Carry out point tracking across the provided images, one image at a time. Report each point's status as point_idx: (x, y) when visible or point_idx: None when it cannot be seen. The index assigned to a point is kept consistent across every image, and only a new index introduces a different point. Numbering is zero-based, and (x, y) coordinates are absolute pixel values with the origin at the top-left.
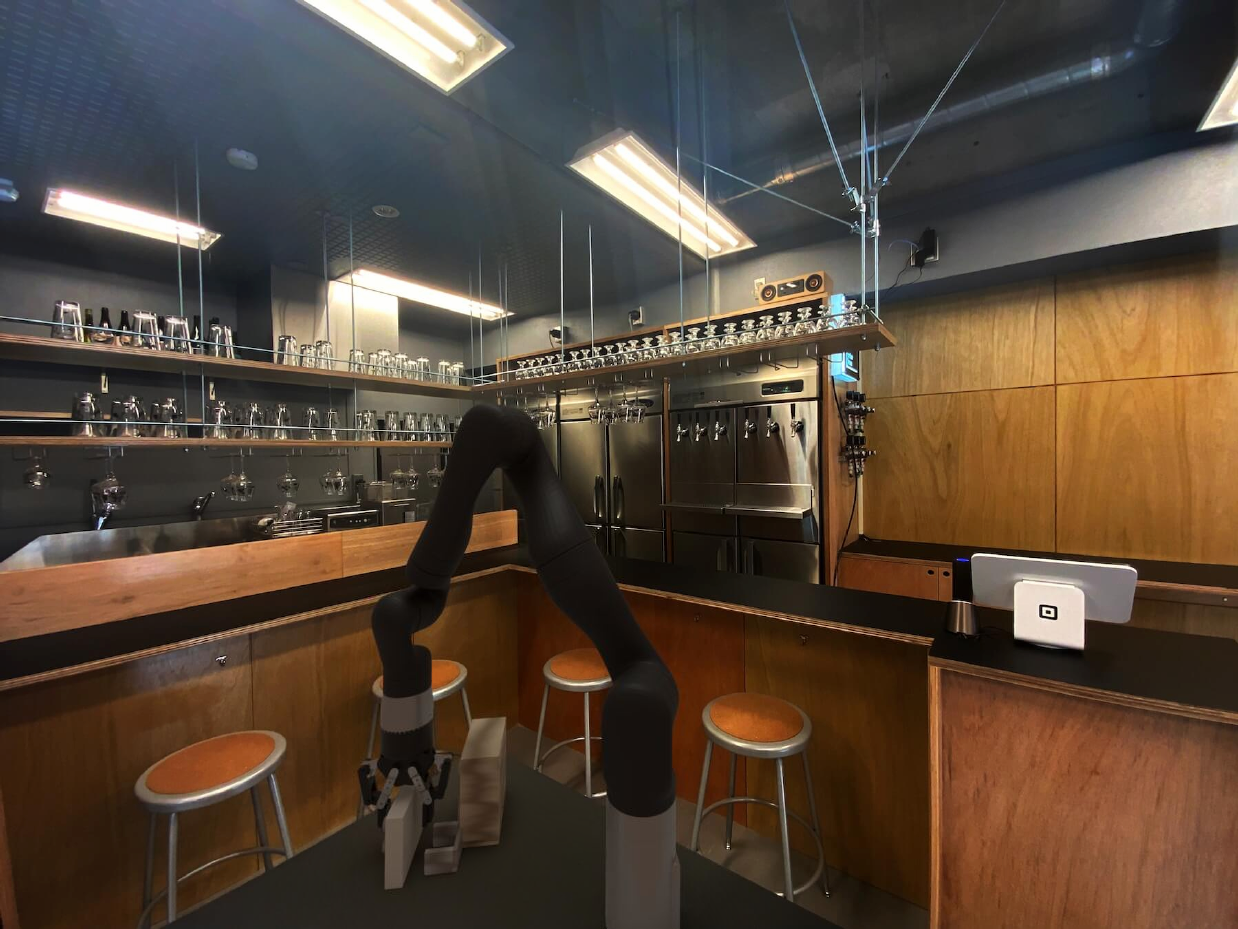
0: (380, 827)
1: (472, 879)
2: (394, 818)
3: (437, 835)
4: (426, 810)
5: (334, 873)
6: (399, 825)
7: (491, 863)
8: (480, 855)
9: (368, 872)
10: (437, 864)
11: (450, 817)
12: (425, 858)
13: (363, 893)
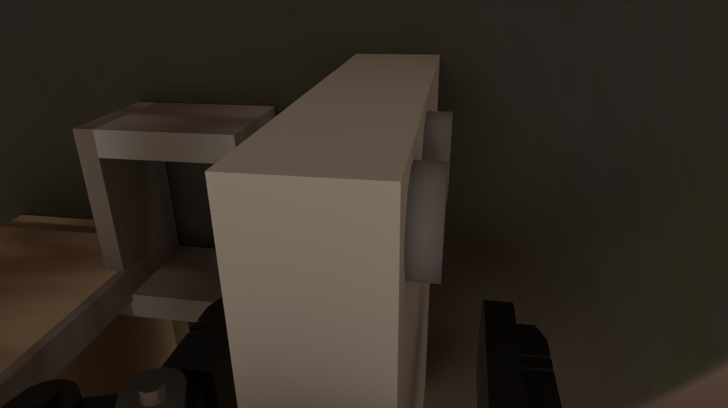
0: (523, 326)
1: (57, 49)
2: (295, 175)
3: None
4: (201, 342)
5: (724, 197)
6: (269, 146)
7: (12, 122)
8: (73, 172)
9: (548, 172)
10: (199, 116)
11: None
12: (238, 127)
13: (541, 48)
